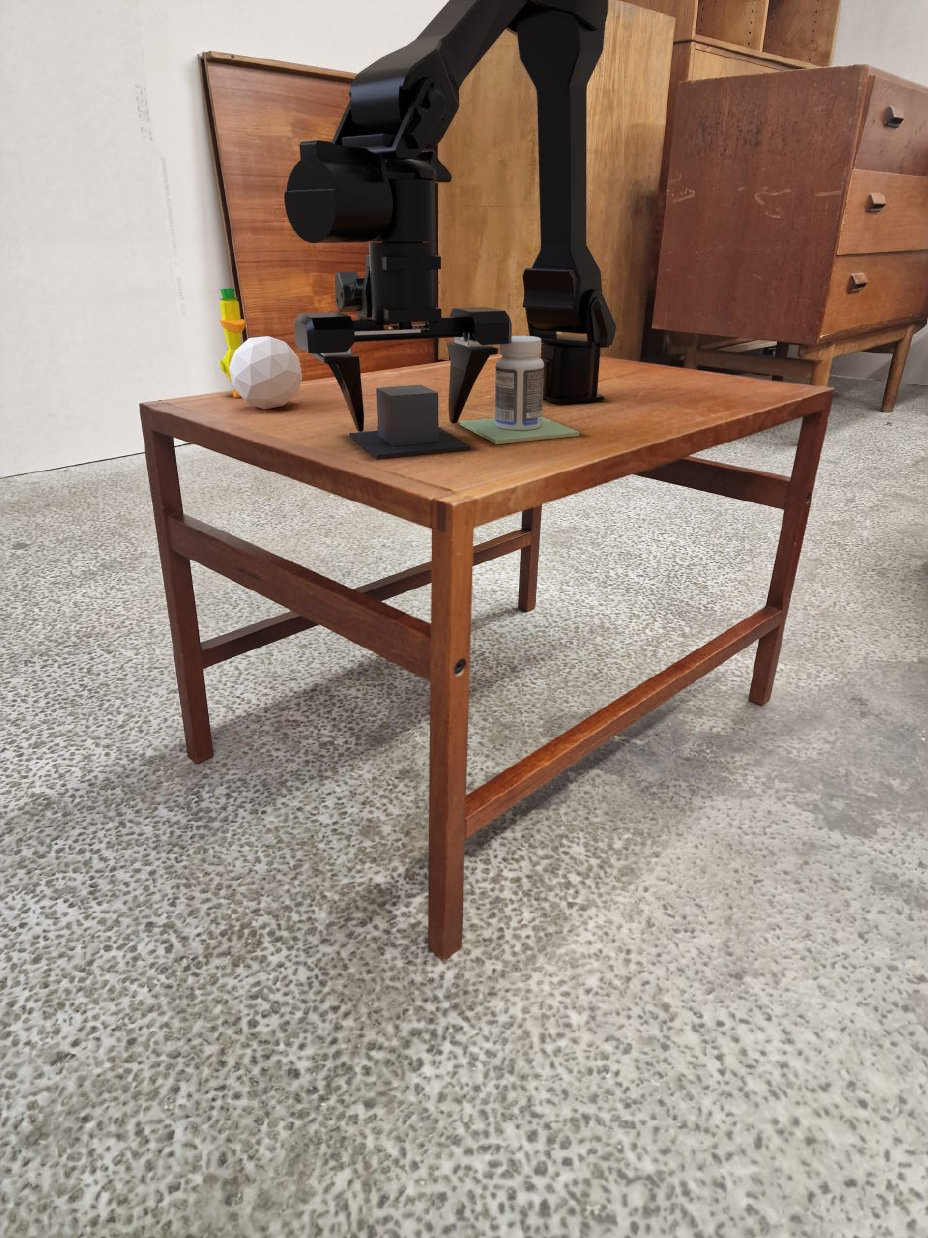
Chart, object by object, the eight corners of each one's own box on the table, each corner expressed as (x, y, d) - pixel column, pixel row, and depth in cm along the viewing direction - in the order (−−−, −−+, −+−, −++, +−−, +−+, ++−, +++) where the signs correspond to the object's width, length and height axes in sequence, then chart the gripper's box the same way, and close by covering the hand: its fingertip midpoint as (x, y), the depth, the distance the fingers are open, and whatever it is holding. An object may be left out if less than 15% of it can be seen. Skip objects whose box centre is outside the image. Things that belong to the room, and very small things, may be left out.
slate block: (422, 431, 78) (421, 384, 76) (438, 442, 74) (438, 392, 72) (378, 435, 77) (376, 387, 75) (392, 446, 73) (390, 395, 71)
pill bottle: (538, 420, 83) (542, 335, 79) (544, 431, 78) (548, 340, 75) (492, 420, 83) (494, 335, 79) (496, 431, 78) (497, 341, 75)
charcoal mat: (436, 429, 81) (435, 425, 81) (470, 449, 73) (470, 445, 73) (349, 436, 78) (349, 432, 78) (376, 459, 70) (376, 454, 70)
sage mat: (537, 417, 86) (537, 414, 86) (579, 436, 78) (579, 431, 78) (459, 424, 83) (459, 420, 83) (495, 444, 75) (496, 440, 75)
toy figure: (262, 399, 95) (250, 289, 89) (231, 401, 93) (218, 290, 88) (249, 390, 100) (237, 286, 95) (220, 392, 99) (207, 287, 93)
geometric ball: (255, 430, 92) (224, 368, 93) (318, 401, 93) (287, 340, 93) (242, 408, 85) (209, 341, 85) (311, 377, 86) (278, 311, 86)
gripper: (466, 240, 78) (466, 403, 85) (274, 241, 72) (290, 417, 78) (517, 242, 69) (511, 425, 76) (301, 243, 62) (316, 443, 69)
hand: (407, 426), depth 75 cm, fingers open, 9 cm apart
